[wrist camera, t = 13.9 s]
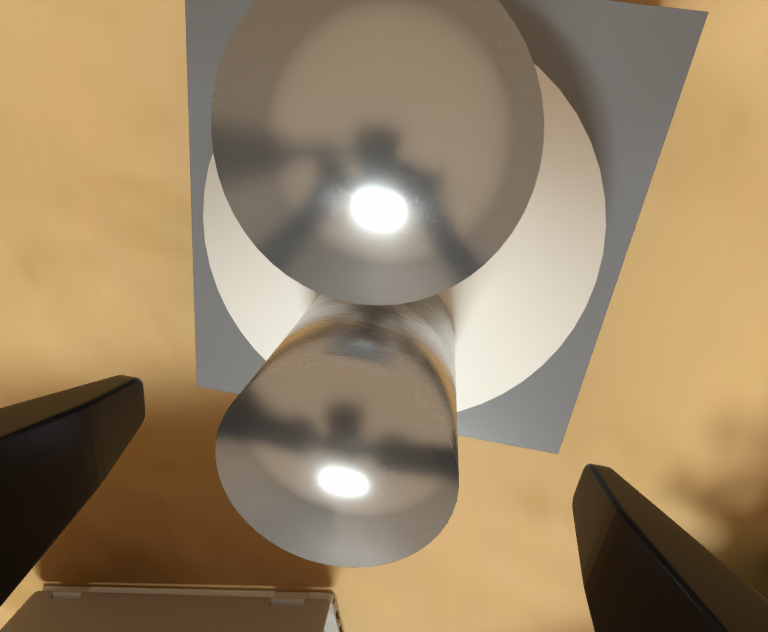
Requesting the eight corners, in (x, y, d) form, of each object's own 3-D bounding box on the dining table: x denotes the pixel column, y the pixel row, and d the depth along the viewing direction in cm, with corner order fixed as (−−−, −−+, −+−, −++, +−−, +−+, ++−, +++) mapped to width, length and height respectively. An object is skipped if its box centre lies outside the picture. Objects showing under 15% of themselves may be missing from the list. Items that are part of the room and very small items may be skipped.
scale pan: (220, 369, 16) (206, 384, 15) (217, -1, 12) (198, -12, 11) (537, 428, 15) (542, 447, 14) (653, 53, 11) (672, 45, 10)
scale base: (232, 350, 19) (196, 386, 17) (234, -51, 14) (182, -97, 11) (541, 406, 18) (557, 454, 16) (667, -1, 13) (724, -37, 10)
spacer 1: (319, 216, 13) (217, 283, 7) (327, 31, 11) (202, -71, 5) (480, 237, 12) (505, 325, 7) (514, 49, 11) (586, -42, 5)
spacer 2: (304, 388, 15) (216, 541, 9) (313, 255, 13) (213, 344, 7) (440, 413, 14) (434, 588, 9) (468, 280, 13) (483, 393, 7)
